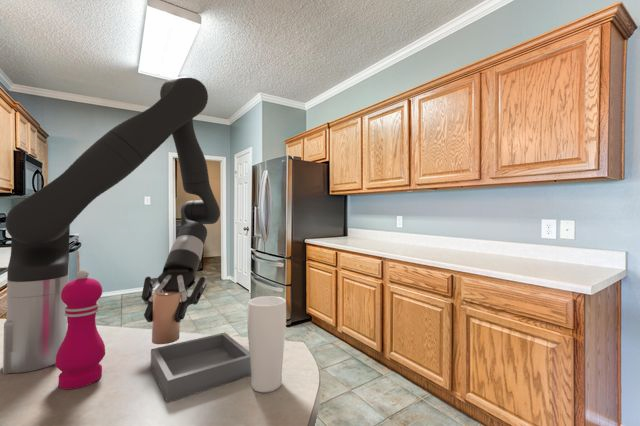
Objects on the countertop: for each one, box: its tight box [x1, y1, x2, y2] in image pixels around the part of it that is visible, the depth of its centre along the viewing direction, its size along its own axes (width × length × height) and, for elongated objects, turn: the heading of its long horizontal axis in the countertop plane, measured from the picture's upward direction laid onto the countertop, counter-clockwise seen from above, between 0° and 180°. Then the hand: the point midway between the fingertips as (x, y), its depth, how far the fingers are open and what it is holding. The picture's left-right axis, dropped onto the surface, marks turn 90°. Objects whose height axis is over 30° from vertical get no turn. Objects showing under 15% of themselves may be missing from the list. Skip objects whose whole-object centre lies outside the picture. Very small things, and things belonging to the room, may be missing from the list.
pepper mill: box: [54, 269, 106, 390], centre depth 57 cm, size 7×7×20 cm
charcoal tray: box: [150, 332, 251, 403], centre depth 60 cm, size 15×15×4 cm
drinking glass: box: [246, 295, 287, 394], centre depth 55 cm, size 7×7×15 cm
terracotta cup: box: [151, 291, 181, 345], centre depth 68 cm, size 5×5×10 cm
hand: (163, 320), depth 66 cm, fingers closed on terracotta cup, 5 cm apart
